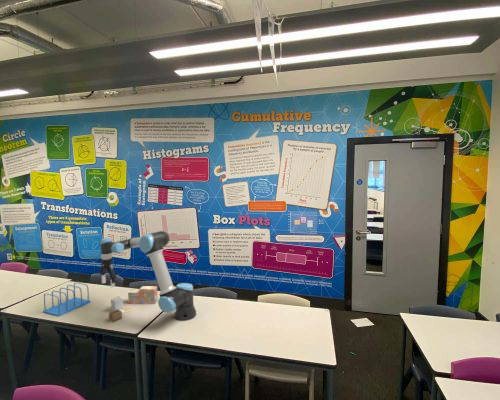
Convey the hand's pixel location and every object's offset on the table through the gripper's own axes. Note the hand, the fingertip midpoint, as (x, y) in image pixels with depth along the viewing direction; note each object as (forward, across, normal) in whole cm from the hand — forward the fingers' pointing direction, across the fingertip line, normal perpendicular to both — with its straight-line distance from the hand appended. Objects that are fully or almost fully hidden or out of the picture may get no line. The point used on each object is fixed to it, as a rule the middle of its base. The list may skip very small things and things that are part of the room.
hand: (108, 284), depth 209 cm
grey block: (+16, -12, 0) cm, 20 cm away
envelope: (+17, -15, +1) cm, 22 cm away
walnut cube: (+17, -26, +9) cm, 32 cm away
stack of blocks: (+17, -17, -18) cm, 30 cm away
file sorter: (+17, +23, +20) cm, 35 cm away
